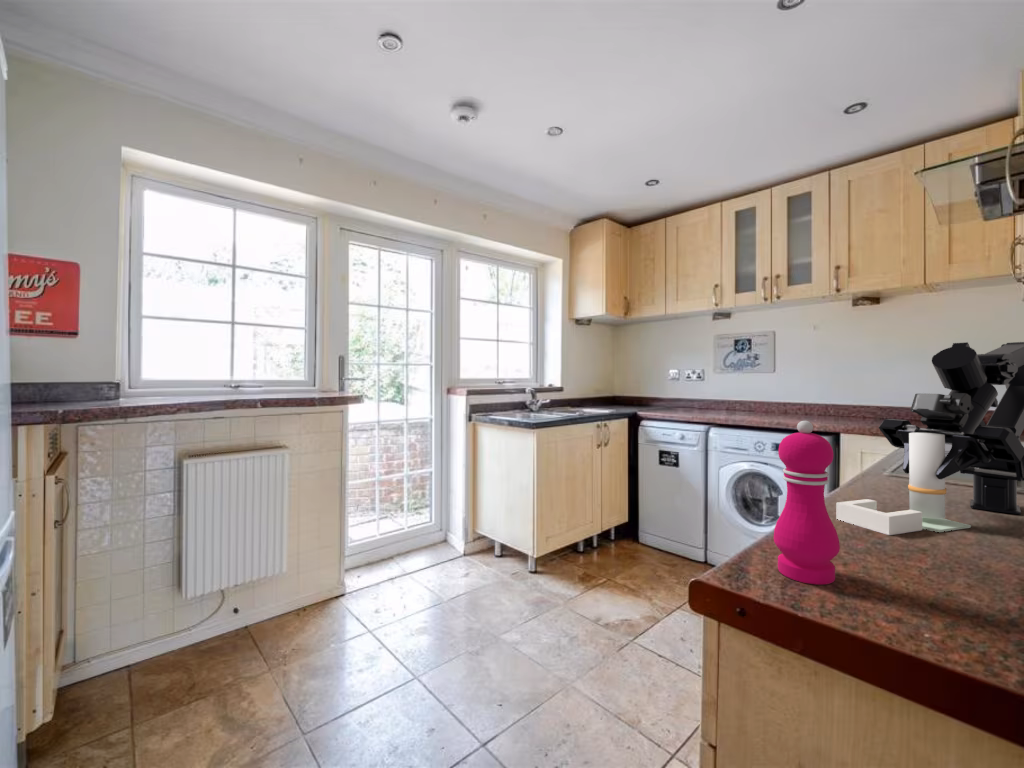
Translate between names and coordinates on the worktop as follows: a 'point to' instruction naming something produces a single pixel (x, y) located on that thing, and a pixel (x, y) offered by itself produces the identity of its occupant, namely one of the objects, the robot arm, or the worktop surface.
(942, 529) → the sage mat
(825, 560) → the pepper mill
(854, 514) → the clip bracket
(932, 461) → the white banded cylinder
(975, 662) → the worktop surface
